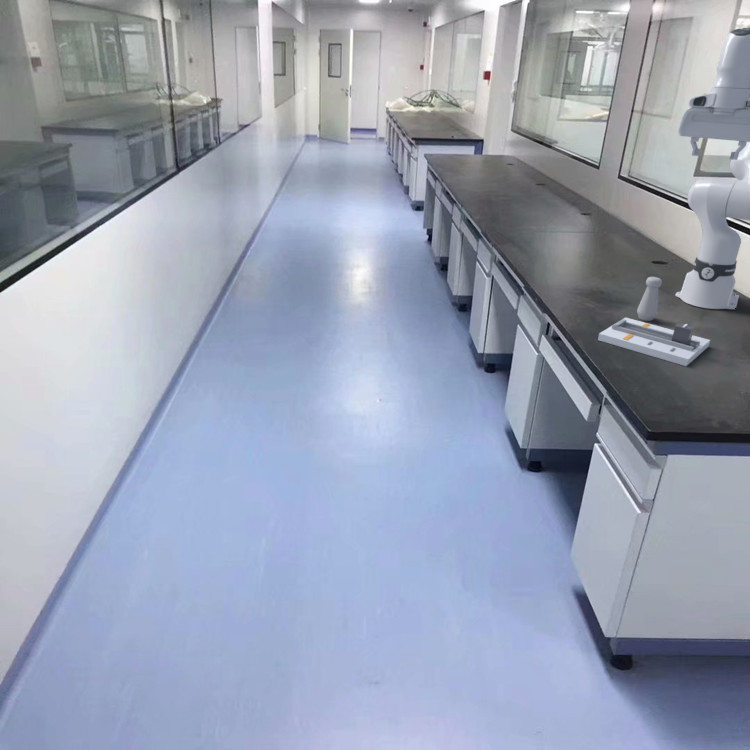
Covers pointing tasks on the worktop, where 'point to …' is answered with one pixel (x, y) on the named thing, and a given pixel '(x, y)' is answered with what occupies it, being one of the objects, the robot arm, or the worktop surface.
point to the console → (653, 341)
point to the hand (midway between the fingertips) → (714, 157)
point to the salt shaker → (649, 300)
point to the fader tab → (683, 334)
